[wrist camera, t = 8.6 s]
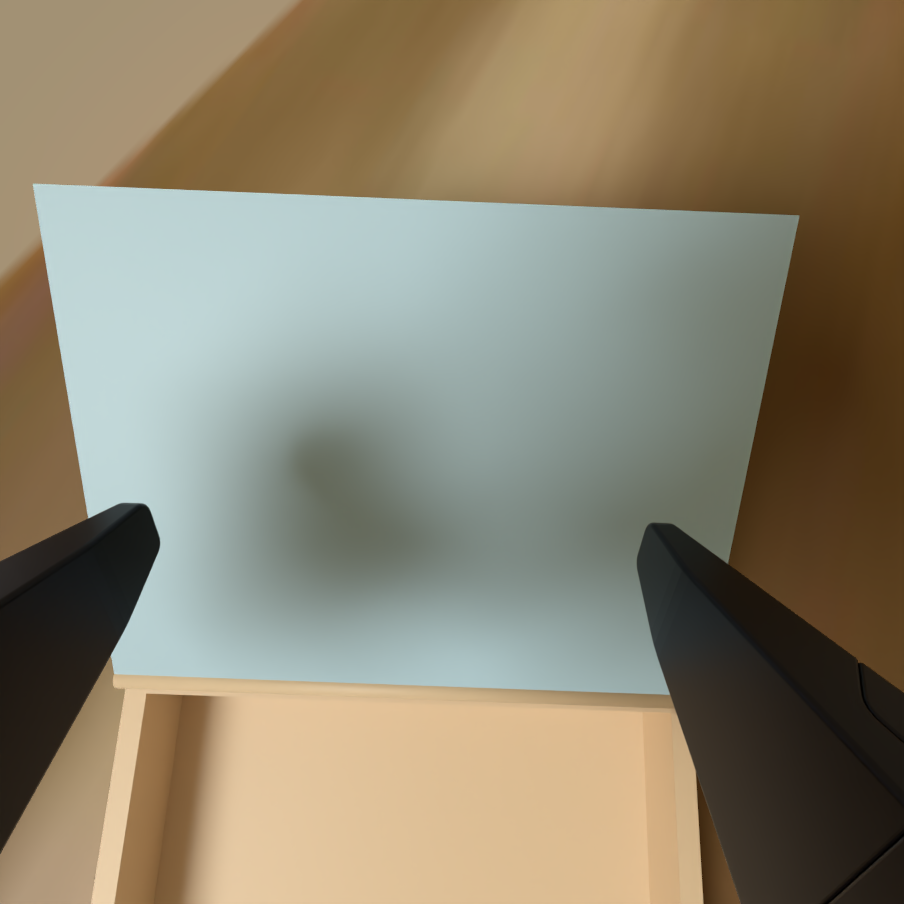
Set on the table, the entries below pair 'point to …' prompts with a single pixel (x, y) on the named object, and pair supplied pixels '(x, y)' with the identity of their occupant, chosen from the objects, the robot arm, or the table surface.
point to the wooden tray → (396, 803)
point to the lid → (407, 429)
